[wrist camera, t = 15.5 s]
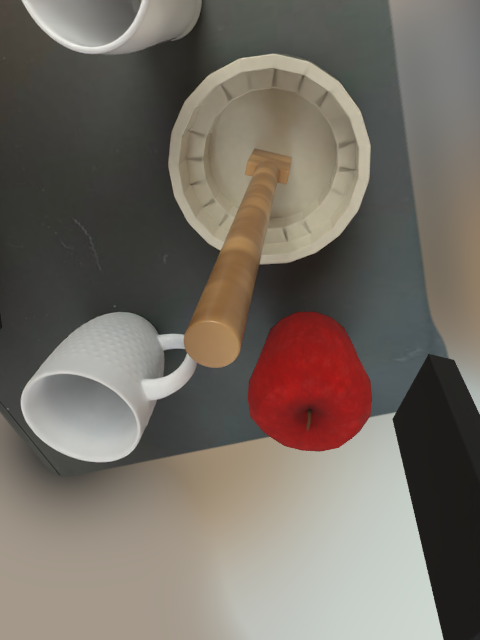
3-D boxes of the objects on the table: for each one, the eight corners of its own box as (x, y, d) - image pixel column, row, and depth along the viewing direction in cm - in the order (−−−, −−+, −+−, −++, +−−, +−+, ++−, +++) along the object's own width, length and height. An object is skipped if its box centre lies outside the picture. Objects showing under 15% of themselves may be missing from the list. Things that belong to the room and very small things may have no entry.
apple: (247, 359, 49) (228, 454, 37) (275, 281, 43) (264, 366, 32) (337, 386, 49) (346, 489, 38) (376, 312, 43) (401, 407, 32)
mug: (191, 277, 44) (153, 354, 33) (224, 363, 49) (200, 453, 38) (66, 304, 48) (-6, 381, 37) (109, 381, 53) (57, 468, 42)
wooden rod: (250, 165, 37) (158, 356, 14) (255, 142, 36) (164, 309, 13) (287, 173, 37) (255, 379, 14) (293, 151, 36) (268, 334, 13)
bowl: (200, 33, 33) (181, 31, 28) (388, 78, 33) (403, 84, 28) (178, 216, 41) (159, 240, 36) (330, 252, 41) (333, 282, 36)
